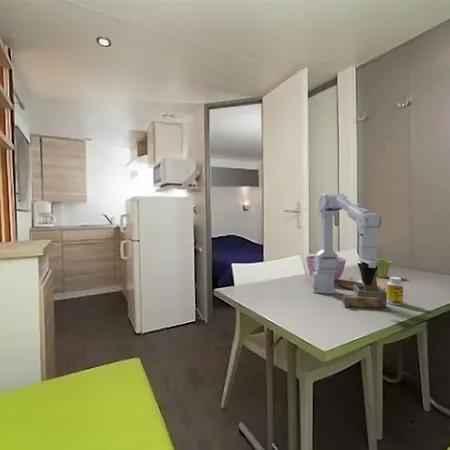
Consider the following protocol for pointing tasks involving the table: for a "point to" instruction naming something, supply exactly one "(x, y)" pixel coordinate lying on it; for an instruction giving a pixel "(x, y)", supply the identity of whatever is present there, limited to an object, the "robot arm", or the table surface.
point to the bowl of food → (336, 274)
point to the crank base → (382, 309)
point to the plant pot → (383, 268)
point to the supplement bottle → (395, 291)
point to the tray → (369, 292)
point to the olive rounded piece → (374, 284)
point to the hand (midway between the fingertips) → (366, 284)
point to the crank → (364, 301)
